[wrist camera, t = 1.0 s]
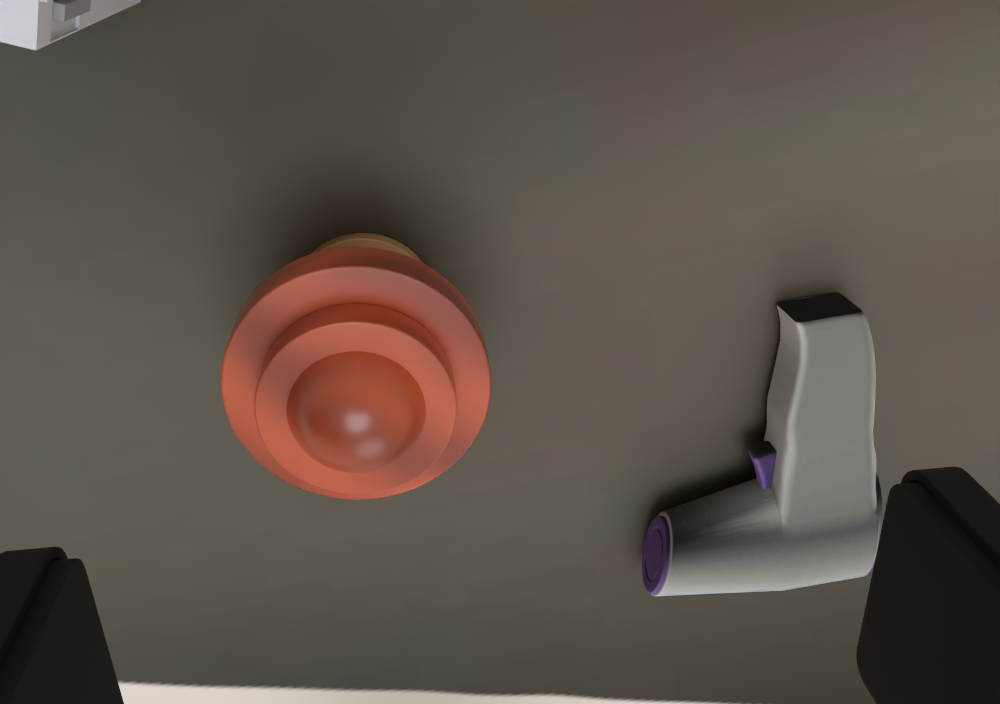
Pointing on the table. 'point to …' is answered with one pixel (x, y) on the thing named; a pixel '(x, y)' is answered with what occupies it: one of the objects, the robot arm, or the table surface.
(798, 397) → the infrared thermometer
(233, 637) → the table surface
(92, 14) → the walkman
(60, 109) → the table surface
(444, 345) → the mushroom
